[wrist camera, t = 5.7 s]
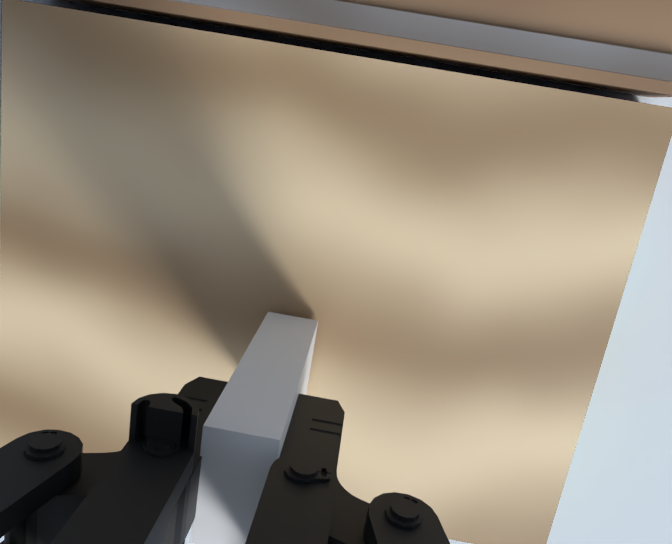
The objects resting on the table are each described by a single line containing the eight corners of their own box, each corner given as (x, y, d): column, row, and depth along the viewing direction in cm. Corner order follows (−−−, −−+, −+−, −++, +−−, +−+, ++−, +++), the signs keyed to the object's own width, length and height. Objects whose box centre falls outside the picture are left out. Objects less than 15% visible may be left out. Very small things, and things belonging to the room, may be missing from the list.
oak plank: (42, 8, 18) (1, -3, 16) (647, 108, 18) (679, 109, 16) (32, 421, 22) (-2, 452, 20) (528, 516, 21) (542, 556, 19)
